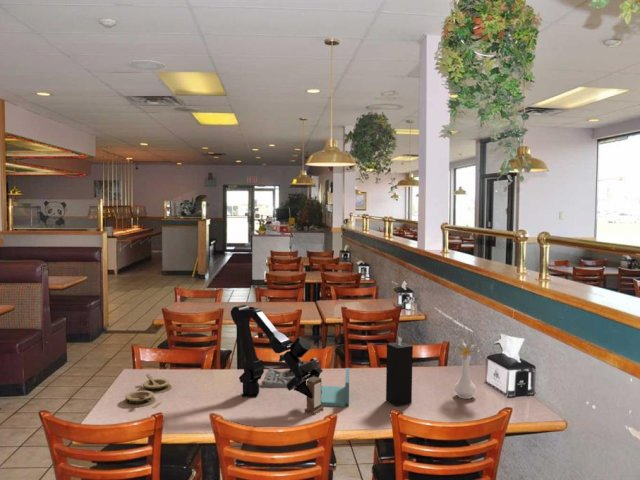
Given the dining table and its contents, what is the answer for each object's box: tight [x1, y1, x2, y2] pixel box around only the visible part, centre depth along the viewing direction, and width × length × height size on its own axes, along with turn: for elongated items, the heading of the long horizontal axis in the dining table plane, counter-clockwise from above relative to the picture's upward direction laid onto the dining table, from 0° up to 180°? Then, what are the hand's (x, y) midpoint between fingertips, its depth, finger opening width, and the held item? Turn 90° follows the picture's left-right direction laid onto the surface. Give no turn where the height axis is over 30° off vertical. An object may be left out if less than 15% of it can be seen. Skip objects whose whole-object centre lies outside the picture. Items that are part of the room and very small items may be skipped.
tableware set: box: [121, 373, 173, 409], centre depth 238 cm, size 30×20×6 cm, turn 172°
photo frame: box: [304, 377, 324, 415], centre depth 221 cm, size 5×6×13 cm
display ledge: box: [321, 367, 350, 408], centre depth 236 cm, size 16×20×10 cm
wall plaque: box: [260, 367, 295, 389], centre depth 260 cm, size 24×19×4 cm
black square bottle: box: [385, 335, 414, 407], centre depth 231 cm, size 8×8×28 cm
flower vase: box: [449, 338, 483, 400], centre depth 239 cm, size 13×18×25 cm
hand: (316, 395), depth 220 cm, fingers closed on photo frame, 6 cm apart
